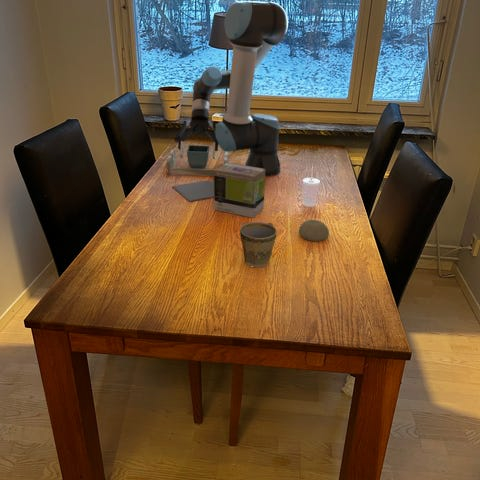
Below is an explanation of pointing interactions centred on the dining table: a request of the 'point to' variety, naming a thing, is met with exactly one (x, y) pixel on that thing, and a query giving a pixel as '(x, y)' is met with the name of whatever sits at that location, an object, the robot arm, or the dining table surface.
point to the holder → (188, 171)
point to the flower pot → (197, 156)
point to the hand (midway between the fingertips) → (197, 157)
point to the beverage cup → (310, 190)
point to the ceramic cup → (257, 242)
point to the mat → (196, 190)
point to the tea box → (239, 189)
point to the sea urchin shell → (313, 230)
